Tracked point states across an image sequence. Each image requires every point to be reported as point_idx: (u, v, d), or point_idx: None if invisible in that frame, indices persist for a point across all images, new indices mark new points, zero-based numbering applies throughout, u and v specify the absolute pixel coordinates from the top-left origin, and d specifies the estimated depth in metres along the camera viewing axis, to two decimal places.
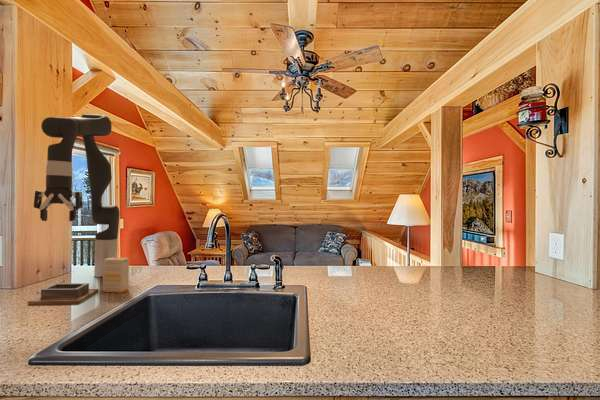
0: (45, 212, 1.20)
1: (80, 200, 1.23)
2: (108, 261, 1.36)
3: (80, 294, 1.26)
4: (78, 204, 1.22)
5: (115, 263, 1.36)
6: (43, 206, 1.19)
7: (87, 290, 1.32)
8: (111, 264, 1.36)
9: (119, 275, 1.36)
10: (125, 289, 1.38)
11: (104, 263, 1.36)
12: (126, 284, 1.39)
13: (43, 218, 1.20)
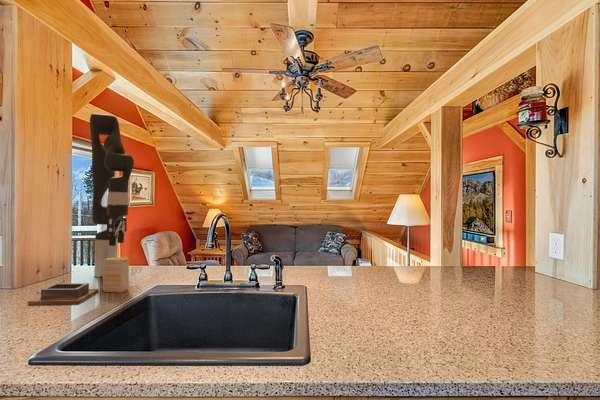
0: None
1: None
2: (108, 261, 1.36)
3: (80, 294, 1.26)
4: (126, 228, 1.45)
5: (115, 263, 1.36)
6: (116, 232, 1.34)
7: (87, 290, 1.32)
8: (111, 264, 1.36)
9: (119, 275, 1.36)
10: (125, 289, 1.38)
11: (104, 263, 1.36)
12: (126, 284, 1.39)
13: None
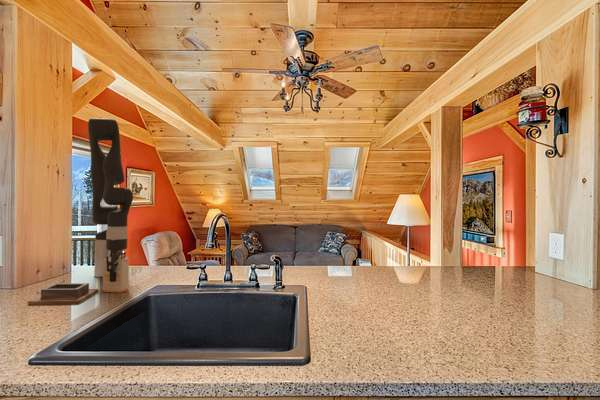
0: None
1: None
2: None
3: (80, 294, 1.26)
4: None
5: (115, 263, 1.36)
6: (116, 268, 1.36)
7: (87, 290, 1.32)
8: None
9: (119, 275, 1.36)
10: (125, 289, 1.38)
11: (104, 263, 1.36)
12: (126, 284, 1.39)
13: None
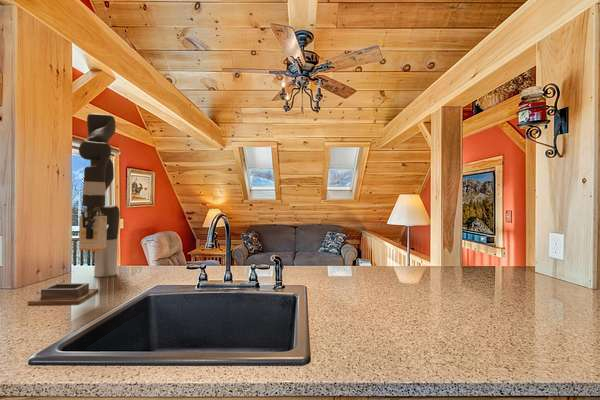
0: None
1: None
2: None
3: (80, 294, 1.26)
4: None
5: None
6: (93, 225, 1.30)
7: (87, 290, 1.32)
8: None
9: (96, 232, 1.30)
10: (103, 248, 1.33)
11: (80, 220, 1.31)
12: (104, 243, 1.33)
13: None
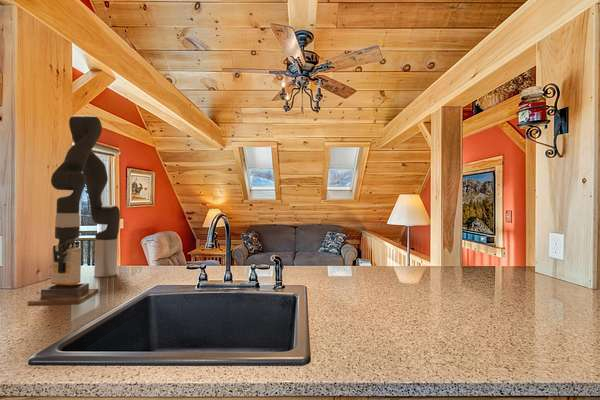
0: None
1: None
2: None
3: (80, 294, 1.26)
4: None
5: (64, 253, 1.25)
6: (65, 259, 1.25)
7: (87, 290, 1.32)
8: None
9: (68, 266, 1.25)
10: (76, 281, 1.27)
11: (53, 253, 1.26)
12: (77, 276, 1.28)
13: (65, 270, 1.25)
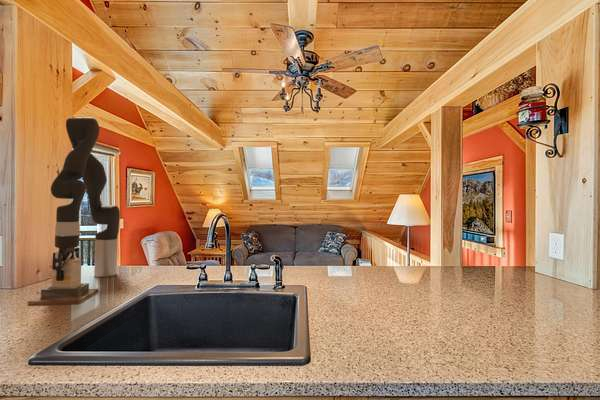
0: None
1: None
2: None
3: (80, 294, 1.26)
4: None
5: None
6: (64, 266, 1.24)
7: (87, 290, 1.32)
8: None
9: (69, 277, 1.25)
10: None
11: None
12: None
13: (63, 278, 1.24)
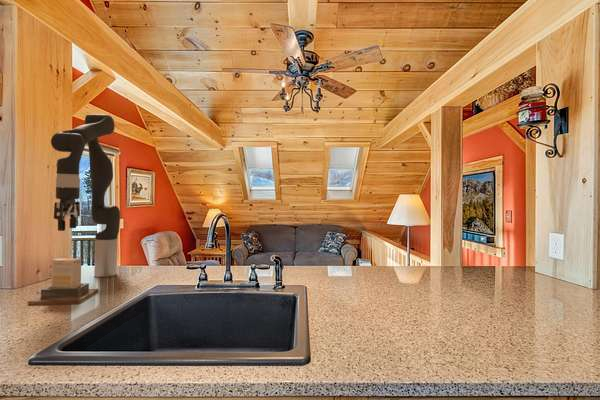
0: None
1: None
2: (57, 262, 1.26)
3: (80, 294, 1.26)
4: (79, 212, 1.38)
5: (65, 264, 1.25)
6: (65, 217, 1.27)
7: (87, 290, 1.32)
8: (61, 265, 1.26)
9: (69, 277, 1.25)
10: None
11: (53, 264, 1.26)
12: None
13: (64, 228, 1.27)
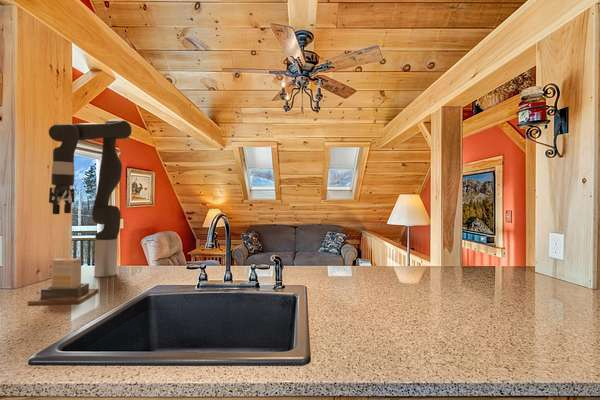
0: None
1: None
2: (57, 262, 1.26)
3: (80, 294, 1.26)
4: (73, 199, 1.47)
5: (65, 264, 1.25)
6: (59, 201, 1.36)
7: (87, 290, 1.32)
8: (61, 265, 1.26)
9: (69, 277, 1.25)
10: None
11: (53, 264, 1.26)
12: None
13: (59, 212, 1.36)
